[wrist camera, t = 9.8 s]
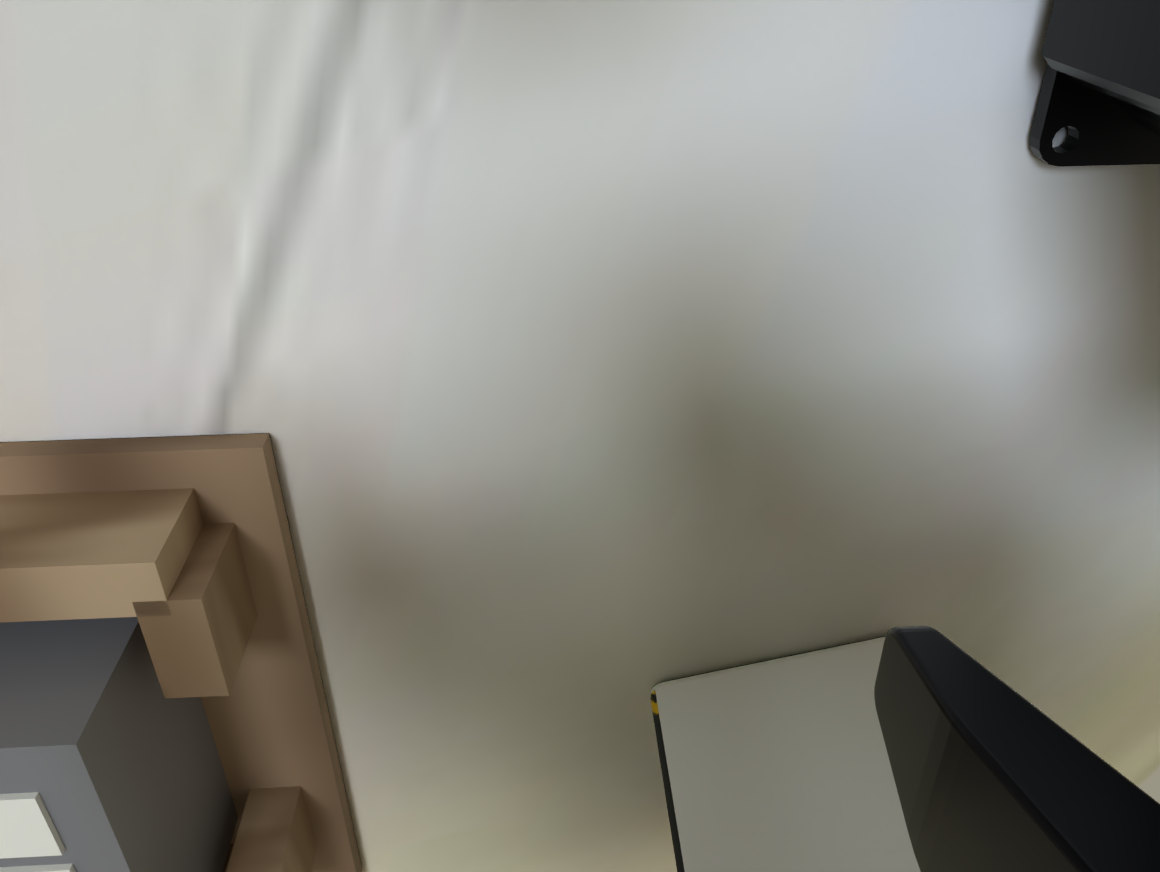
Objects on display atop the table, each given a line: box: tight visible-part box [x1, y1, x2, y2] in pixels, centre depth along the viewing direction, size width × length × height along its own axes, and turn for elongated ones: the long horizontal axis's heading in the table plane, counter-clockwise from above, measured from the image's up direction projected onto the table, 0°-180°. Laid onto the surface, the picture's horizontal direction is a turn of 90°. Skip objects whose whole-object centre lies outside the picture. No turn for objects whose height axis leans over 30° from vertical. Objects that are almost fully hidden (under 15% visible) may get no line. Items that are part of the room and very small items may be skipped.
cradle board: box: [0, 433, 362, 872], centre depth 23 cm, size 10×16×3 cm, turn 0°
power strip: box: [0, 617, 238, 872], centre depth 22 cm, size 4×9×5 cm, turn 1°
